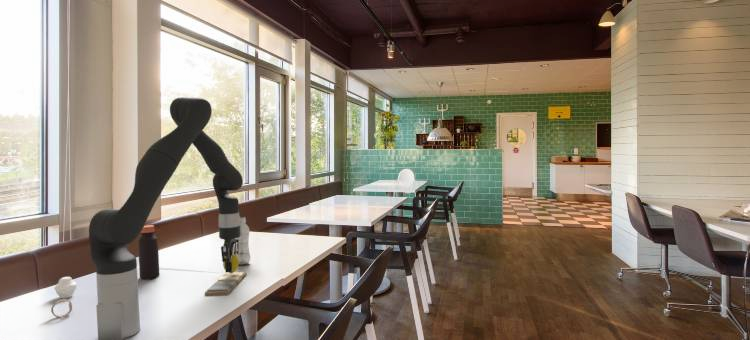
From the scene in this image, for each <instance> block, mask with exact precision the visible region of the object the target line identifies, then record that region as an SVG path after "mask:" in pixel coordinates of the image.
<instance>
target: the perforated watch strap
mask: <svg viewBox="0 0 750 340" xmlns="http://www.w3.org/2000/svg"><path fill="white" fill-rule="evenodd" d="M64 301H66V302H69V303H68V308H69V310H68V311H67V312H66V313H65V314H63V315H58V314H55V312H54V307H55V306H56V305H57V304H58V303H60V302H64ZM72 311H73V304H72V302H71V301H70V300H68V299H67V298H62V299H58V300H57V301H56V302H54V303H53V304H52V306H51V309H50V313H52V315H53V316H54V317H56V318H64V317H66V316H68V315H69V314H71V313H72Z"/></svg>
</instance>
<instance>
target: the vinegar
mask: <svg viewBox="0 0 750 340" xmlns="http://www.w3.org/2000/svg"><path fill="white" fill-rule="evenodd" d="M137 249H138V251H137V252H138V266H139V278H140V279H141V280H152V279H156V278H158V277H159V276H160V262H159V261H160V259H159V258H160V257H159V239H158V237H157V236H156V235H155V225H153V224H151V225H149V224H147V225H146V224H145V225H144V227H143V229H142V231H141V232H140V237H139V238H138V239H137Z"/></svg>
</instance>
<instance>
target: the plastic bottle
mask: <svg viewBox="0 0 750 340" xmlns="http://www.w3.org/2000/svg"><path fill="white" fill-rule="evenodd" d="M246 223H247V220H246V217H245V216H243V217H241V216H240V237H239V238H236V239H239V254H238V255H237V257H238V260H239V265H240V266H244V265H248V264H249V263H250V261H251V253H250V247H249V238H250V227H249V226H248V224H246ZM239 265H238V266H239Z"/></svg>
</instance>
